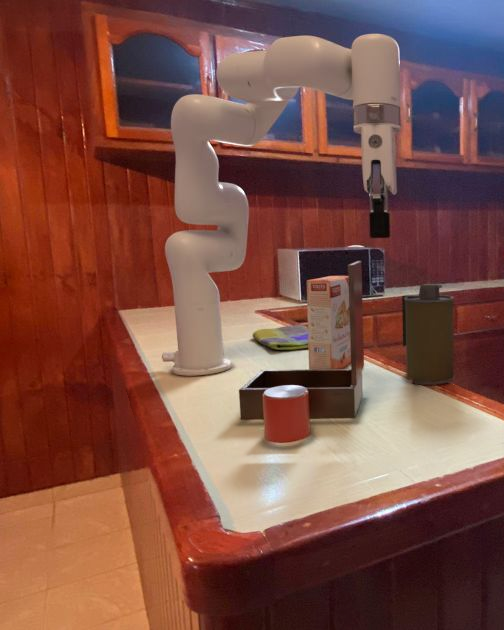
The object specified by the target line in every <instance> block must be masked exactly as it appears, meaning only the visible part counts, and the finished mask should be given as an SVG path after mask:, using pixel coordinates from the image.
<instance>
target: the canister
mask: <svg viewBox="0 0 504 630" xmlns="http://www.w3.org/2000/svg"><path fill="white" fill-rule="evenodd" d="M440 288H441V289H442V288H443V285H442V284H439V283H424V284H420V287H419V291H418V294H404V295H402V297H401V301H402V302H401V303H402V304H401V307H402V309H401V310H402V311H401V313H402V316H401V317H402V348H405V363H406V364H405V366H406V367H405V368H406V369H405V370H406V371H405V372H406V377H407V378H408V379H410V380H411V381H412V384H414V385H422V386H440V385H445V384H449V383H451V382H453V381H454V380H455V378H456V377H455V375H454V373H455V372H454V369H455V368H454V367H455V366H454V365H455V364H454V363H455V362H454V361H455V356H454V355H455V354H454V353H455V349H454V348H455V347H454V345H455V343H454V342H455V341H454V338H455V336H454V335H455V333H454V332H455V329H454V328H455V327H454V326H455V324H454V323H455V320H454V319H455V317H454V316H455V312H454V311H455V307H454V306H455V305H454V304H455V297H454V296H453V295H448V294H440Z"/></svg>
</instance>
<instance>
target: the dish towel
mask: <svg viewBox="0 0 504 630" xmlns="http://www.w3.org/2000/svg"><path fill="white" fill-rule="evenodd" d="M252 338H253V339H254V340H255V341H257V342H258V343H260V344H261V345H262V346H265V347H267V348H270V349H272V350H275V351H290V350H292V351H293V350H302V349H309V347H308V326H305V325H304V324H297V325H287V326H286V325H285V326H280V327H275V328H261V329H257V330H255V331H254V332H253V333H252Z"/></svg>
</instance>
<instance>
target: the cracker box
mask: <svg viewBox="0 0 504 630" xmlns="http://www.w3.org/2000/svg"><path fill="white" fill-rule="evenodd" d="M306 305H307V306H306V307H307V309H306V310H307V328H308V347H309V348H308V370H312V369H344V368H345V367H347V366H348V365H349V364H351V346H350V312H349V279H348V275H328V276H324V277H323V276H322V277H319V278H313V279H308V280H306Z"/></svg>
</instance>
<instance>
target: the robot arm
mask: <svg viewBox="0 0 504 630" xmlns="http://www.w3.org/2000/svg"><path fill="white" fill-rule="evenodd" d="M400 65H401V64H400V47H399V44H398V42H397V41H396V39H394V38H393V37H392V36H389V35H387V34H383V33H367V34H362V35H360V36H357V37H356V38H355V39H354V40H353V42H352V44H351V47H350V48H348V47H344V46H342V45H340V44H337V43H335V42H333V41H331V40H330V41H329V40H328V39H325V38H322V37H318V36H313V35H295V36H285V37H280V38H277V39H276V40H274V41H273V42H272V44H271V45H270V46H269V47H268V48H267V49H263V50H253V51H244V52H234V53H231V54H228V55H226V56H225V57H223V58H222V59H221V60H220V61H219V62H218V64H217V67H216V73H215V76H216V80H217V84H218V86H219V87H220V89H221V90H222V91H223V93H225V94H226V95H227V96H229V97H231V98H232V99H234V100H236V101H238V102H236V101H232V100H228V99H225V98H221V97H216V96H211V95H206V94H194V93H193V94H187V95H184V96H181V97H180V98H179V99H178V100H177V101H176V102H175V104H174V106H173V109H172V111H171V117H170V131H171V137H172V142H173V146H174V152H175V170H174V171H175V172H174V211H175V212H174V213H175V215H176V216H177V218H178V220H179V221H181V222H183V223H185V224H188V225H197V226H198V225H201V226H217V230H216V229H215V230H213V229H211V230H210V229H208V230H207V229H188V230H187V229H186V230H181V231H176V232H174V233H172V234H171V235H170V236H168V238H167V240H166V241H165V245H164V254H165V260H166V262H167V265H168V269H169V273H170V278H171V284H172V293H173V305H174V315H175V326H176V327H175V328H176V340H177V341H176V342H177V350H176V351H174V352H172V351H163V352H162V354H161V360H162V362H164V363H169V362H173V363H174V365H172V367H171V371H172V373H173V375H177V376H184V377H185V376H186V377H189V376H190V377H192V376H193V377H194V376H205V375H214V374H219V373H221V372H225V371H227V370H229V369H231V367H232V361H231V360H230V359H227V358H224V356H225V355H224V343H223V341H224V340H223V326H222V310H221V298H220V297H221V295H220V290H219V289H218V285H217V284H216V283H215V282H214V280H213V278H212V277H211V275H210V274H209V273H220V272H222V273H223V272H230V271H235V270H238V269H239V268H240V267H241V266H243V264H244V262H245V259H246V255H247V244H248V230H249V219H250V218H249V217H250V207H249V206H250V205H249V200H248V197H247V195H246V193H245V191H244V190H243V188H241V187H240V186H238V185H237V184H235V183H231V182H223V181H222V182H221V181H219V168H220V164H219V163H220V162H219V159H218V156H217V153H216V151H215V149H214V148H213V146H212V145H211V143H210V141H211V142H217V143H223V144H229V145H234V146H235V145H236V146H242V147H252V146H255V145H257V144H259V143H260V142H261V141H262V140H263V139H264V138H265V136H266V135H267V134H268V132H269V131H270V130H271V128H272V127H273V125H274V124H275V123H276V121H277V120H278V119H279V117H280V116H281V114H282V113H283V112H284V110H285V109H286V107H287V106H288V104H289V102H290V100H291V99H293V98H294V97H295V96H296V95H297V93H298V92H299V89H300V88H306V89H309V90H314V91H317V92H321V93H325V94H327V95H330V96H334V97H338V98H341V99H344V100H349V101H352V117H353V119H352V120H353V132H354V133H356V134H359V135H360V147H361V149H360V150H361V171H362V181H363V189H364V191H365V192H366V193H367V194H368V196H369V213H368V216H369V217H368V218H369V220H368V221H369V237H370V238H371V239H389V238H390V237H391V218H390V217H391V215H390V212H389V192H390V193H391V194H392V195H393V196H395V195H396V194H397V193H398V187H397V186H398V183H397V181H398V180H397V151H396V149H397V148H396V137H395V135H396V134H398V133H400V132H401V131H402V126H401V125H402V124H401V123H402V122H401V121H402V120H401V116H402V115H401V70H400V69H401V68H400V67H401V66H400ZM239 101H240V102H239ZM241 102H244V103H241Z"/></svg>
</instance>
